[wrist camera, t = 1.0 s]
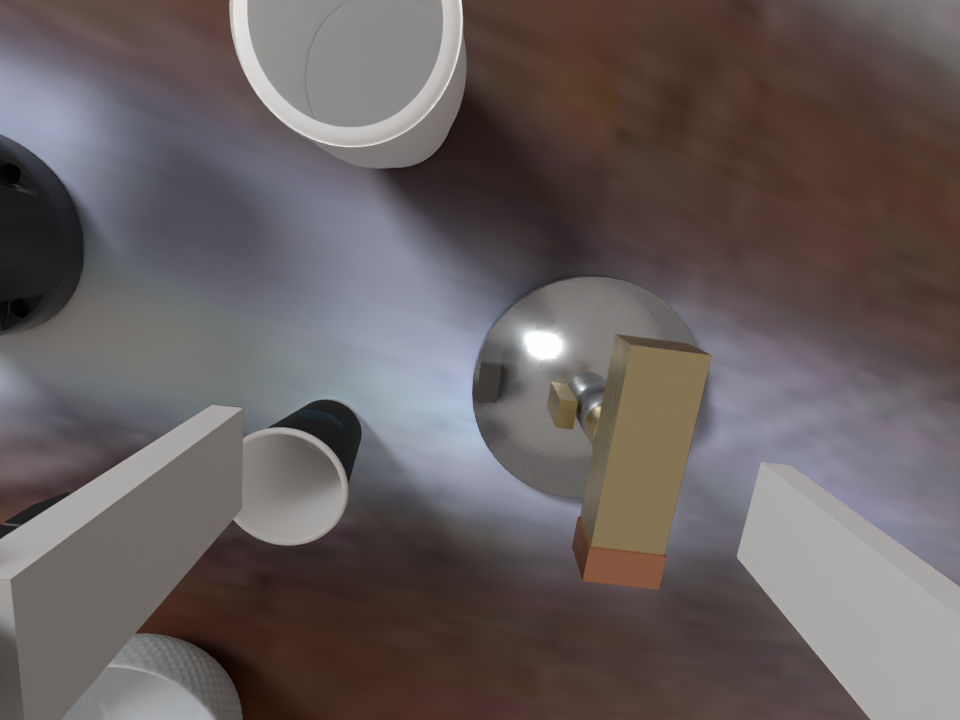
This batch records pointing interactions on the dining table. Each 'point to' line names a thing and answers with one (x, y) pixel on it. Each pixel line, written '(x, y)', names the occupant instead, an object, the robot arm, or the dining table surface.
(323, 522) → the dixie cup
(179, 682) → the cereal bowl
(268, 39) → the jar
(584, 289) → the post base
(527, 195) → the dining table surface
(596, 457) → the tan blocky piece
